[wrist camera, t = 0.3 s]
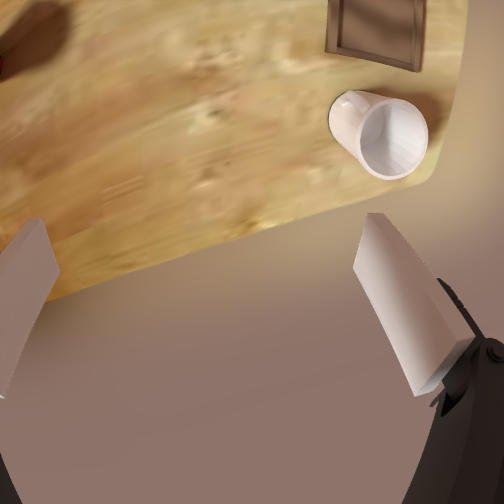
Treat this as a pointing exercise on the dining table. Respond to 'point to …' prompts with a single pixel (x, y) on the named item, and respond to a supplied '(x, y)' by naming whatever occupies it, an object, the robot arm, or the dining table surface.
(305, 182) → the dining table surface
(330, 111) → the mug
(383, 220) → the robot arm
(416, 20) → the tray
